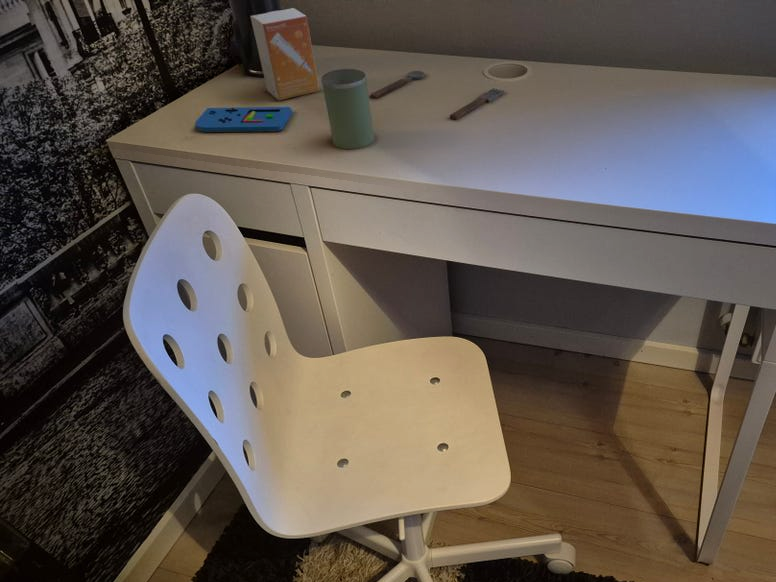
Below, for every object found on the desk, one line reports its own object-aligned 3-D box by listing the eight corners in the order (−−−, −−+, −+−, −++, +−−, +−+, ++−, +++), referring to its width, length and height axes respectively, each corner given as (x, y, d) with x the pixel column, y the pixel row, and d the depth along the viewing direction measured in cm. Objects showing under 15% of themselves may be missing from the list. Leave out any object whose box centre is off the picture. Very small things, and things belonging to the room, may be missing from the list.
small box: (279, 101, 120) (261, 23, 111) (267, 91, 124) (249, 15, 115) (321, 91, 123) (307, 15, 114) (307, 81, 127) (293, 6, 118)
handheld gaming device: (206, 106, 116) (291, 104, 116) (208, 112, 117) (293, 111, 116) (190, 125, 110) (279, 124, 109) (192, 132, 111) (281, 131, 110)
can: (331, 150, 105) (319, 86, 98) (334, 132, 110) (322, 70, 103) (374, 147, 105) (365, 83, 98) (374, 130, 110) (366, 67, 103)
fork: (459, 120, 112) (458, 117, 112) (447, 117, 113) (447, 114, 113) (504, 93, 120) (504, 90, 120) (493, 90, 121) (493, 87, 121)
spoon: (380, 100, 119) (379, 96, 119) (366, 96, 121) (366, 93, 120) (427, 75, 128) (427, 72, 127) (414, 72, 129) (414, 69, 129)
